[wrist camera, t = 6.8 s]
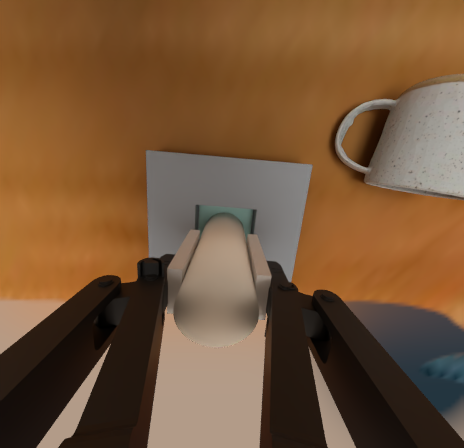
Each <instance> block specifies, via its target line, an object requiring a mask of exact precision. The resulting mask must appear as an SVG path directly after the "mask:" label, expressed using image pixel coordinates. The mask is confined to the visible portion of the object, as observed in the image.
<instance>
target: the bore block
mask: <svg viewBox="0 0 464 448" xmlns="http://www.w3.org/2000/svg"><path fill="white" fill-rule="evenodd" d="M146 170H147V205H148V241H149V258H152V257H154V258H160V257H161V256H163V255H165V254H176V253H177V251H178V249H179V248H180V246H181V244H182V243H183V241H184V239H185V238H186V236H187V234H188V233H189V231H190V229H191V230H200V237H201V235H202V232H203V230H204V227H205V225H206V223H207V221H208V220H209V219H210V218H211V217H212V216H213V215H215V214H218V213H230V214H233V215H235V216H236V217H237V218H239V220H240V221H241V222H242V224H243V227H244V232H245V237H246V243H247V236H248V234H255V235H257V236H258V239H259V242H260V245H261V247H262V250H263V253H264V256H265V259H266V261H276V262H277V263H279V264H280V265H281V267H282V269H283V271H284V273H285V275H286V277H287V279H288V281H289V282H291V279H292V274H293V269H294V263H295V258H296V252H297V247H298V241H299V236H300V231H301V225H302V220H303V214H304V209H305V203H306V198H307V193H308V187H309V182H310V176H311V171H312V165H310V164H298V163H287V162H276V161H264V160H253V159H242V158H230V157H219V156H208V155H196V154H185V153H174V152H162V151H151V150H146ZM199 240H200V239H199Z"/></svg>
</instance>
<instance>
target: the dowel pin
mask: <svg viewBox="0 0 464 448" xmlns="http://www.w3.org/2000/svg"><path fill="white" fill-rule="evenodd" d="M173 315H174V319H175V322H176V325H177V327H178V328H179V330H180V331H181V332H182V333H183V334H184V335H185V336H186V337H187V338H188V339H190V340H191V341H193V342H195V343H197V344H199V345H202V346H206V347H212V348H221V347H228V346H232V345H235V344H237V343H239V342H241V341H242V340H244V339H245V338H247V337H248V336H249V335H250V334H251V333H252V331H253V330H254V328H255V327H256V324H257V322H258V318H259V306H258V301H257V296H256V290H255V285H254V280H253V275H252V269H251V264H250V259H249V253H248V248H247V243H246V237H245V232H244V227H243V224H242V222H241V221H240V220H239V218H237V217H236V216H235V215H233V214H230V213H218V214H215V215H213V216H212V217H211V218H210V219H209V220H208V221H207V223H206V225H205V227H204V230H203V232H202V235H201V237H200V240H199V242H198V245H197V247H196V250H195V252H194V255H193V257H192V260H191V262H190V265H189V267H188V270H187V272H186V275H185V277H184V280H183V282H182V285H181V287H180V290H179V292H178V295H177V297H176V300H175V302H174V307H173Z"/></svg>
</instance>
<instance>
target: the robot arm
mask: <svg viewBox="0 0 464 448" xmlns="http://www.w3.org/2000/svg"><path fill="white" fill-rule="evenodd" d="M199 239H200V230H191V229H190V231H189V233H188V234H187V236H186V238H185V239H184V241H183V243H182V244H181V246H180V248H179V249H178V251H177V253H176V254H165V255H163V256H161V257H160V258H154V257H152V258H145V259H142V260H140V261H139V262H138V263H137V268H138V279H137V281H135V282H130V283H121V279H120V278H119V277H118V276H114V275H106V276H102V277H99V278H97V279H95V280H93V281H92V282H91V283H89V284H88V285H87V286H86V287H84V288H83V289H82V290H80V291H79V292H78V293H77V294H75V295H74V296H73V297H72V298H70V299H69V300H68V301H67V302H65V303H64V304H63V305H62V306H60V307H59V308H58V309H57V310H55V311H54V312H53V313H52V314H50V315H49V316H48V317H47V318H45V319H44V320H43V321H42V322H40V323H39V324H38V325H37V326H36V327H34V328H33V329H32V330H30V331H29V332H28V333H27V334H25V335H24V336H23V337H22V338H20V339H19V340H18V341H17V342H15V343H14V344H13V345H12V346H10V347H9V348H8V349H7V350H5V351H4V352H3V353H2V354H0V448H36V447H37V446H38V444H39V443H40V441H41V440H42V439H43V437H44V436H45V435H46V433H47V432H48V430H49V429H50V428H51V426H52V425H53V424H54V422H55V421H56V419H57V418H58V417H59V415H60V414H61V412H62V411H63V409H64V408H65V407H66V405H67V404H68V403H69V401H70V400H71V398H72V397H73V396H74V394H75V393H76V391H77V390H78V389H79V387H80V386H81V384H82V383H83V382H84V380H85V379H86V378H87V376H88V375H89V373H90V372H91V370H92V369H93V368H94V366H95V365H96V364H97V362H98V361H99V359H100V358H101V357H102V355H103V354H104V352H105V351H106V350H107V348H108V347H109V345H110V344H111V345H110V348H109V350H108V353H107V355H106V357H105V360H104V363H103V365H102V368H101V370H100V372H99V375H98V377H97V380H96V382H95V385H94V387H93V389H92V392H91V395H90V397H89V399H88V402H87V404H86V407H85V409H84V412H83V414H82V417H81V419H80V422H79V424H78V426H77V429H76V431H75V433H74V434H73V436H72V437H70V438H67V439H65V440H64V441H63V442H62V443H61V444H60V446H59V447H58V448H147V444H148V436H149V429H150V422H151V415H152V406H153V400H154V393H155V385H156V378H157V371H158V364H159V356H160V348H161V342H162V334H163V326H164V320H165V309H166V307H167V313H171V314H173V307H174V302H175V300H176V297H177V295H178V292H179V290H180V287H181V285H182V282H183V280H184V277H185V275H186V272H187V270H188V267H189V265H190V262H191V260H192V257H193V255H194V252H195V250H196V247H197V245H198V242H199ZM247 248H248V253H249V259H250V264H251V269H252V275H253V280H254V285H255V290H256V296H257V301H258V306H259V318H258V319H260V320H265V317H266V313H267V316H268V318H267V324H266V330H265V337H266V340H265V359H264V376H263V394H262V395H263V396H262V413H261V414H262V415H261V430H260V431H261V432H260V448H328V447H327V444H326V440H325V434H324V430H323V424H322V418H321V413H320V407H319V402H318V396H317V391H316V385H315V380H314V375H313V369H312V364H311V358H310V353H309V348H310V350H311V352H312V354H313V357H314V359H315V361H316V363H317V365H318V367H319V369H320V372H321V374H322V376H323V378H324V380H325V382H326V384H327V386H328V389H329V391H330V393H331V395H332V397H333V399H334V401H335V404H336V406H337V408H338V410H339V412H340V414H341V416H342V418H343V420H344V423H345V425H346V427H347V429H348V431H349V433H350V435H351V438H352V440H353V442H354V444H355V446H356V448H464V441H463V440H462V438H461V437H460V436H459V435H458V434H457V433H456V431H455V430H454V429H453V428H452V427H451V426H450V425H449V423H448V422H447V421H446V420H445V419H444V418H443V416H442V415H441V414H440V413H439V412H438V411H437V410H436V408H435V407H434V406H433V405H432V404H431V403H430V401H429V400H428V399H427V398H426V397H425V396H424V394H422V392H421V391H420V390H419V389H418V388H417V386H416V385H415V384H414V383H413V382H412V381H411V379H410V378H409V377H408V376H407V375H406V374H405V373H404V372H403V370H402V369H401V368H400V367H399V366H398V365H397V363H396V362H395V361H394V360H393V359H392V357H391V356H390V355H389V354H388V353H387V352H386V351H385V349H384V348H383V347H382V346H381V345H380V344H379V343H378V341H377V340H376V339H375V338H374V337H373V336H372V335H371V334H370V332H369V331H368V330H367V329H366V327H365V326H364V325H363V324H362V323H361V322H360V320H359V319H358V318H357V317H356V316H355V315H354V314H353V312H351V310H350V309H349V308H348V307H347V305H346V304H345V303H344V302H343V301H342V300H341V298H340V297H338V296H337V295H336V294H334V293H332V292H330V291H327V290H316V291H314V294H313V296H310V295H306V294H303V293H300V292H298V288H297V287H296V286H295V285H294V284H293V283H291V282H289V281H288V279H287V277H286V275H285V273H284V271H283V269H282V267H281V265H280V264H279V263H277V262H276V261H266V259H265V256H264V253H263V250H262V247H261V245H260V242H259V239H258V236H257V235H255V234H248V236H247ZM308 346H309V347H308Z"/></svg>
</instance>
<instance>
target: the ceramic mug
mask: <svg viewBox="0 0 464 448" xmlns="http://www.w3.org/2000/svg"><path fill="white" fill-rule="evenodd" d="M372 109H388V110H390V113H389V115H388V118H387V120H386V123H385V127H384V129H383V133H382V135H381V138H380V140H379V143H378V145H377V147H376V150H375V152H374V155H373V157H372V159H371V162H370V164H369V166H368V167H363V166H360V165H359V164H357V163H355V162H354V161H352V160H350V159H349V158H348V157H347V155H346V154H345V152H344V150H343V148H342V147H341V144H342V141H343V138H344V136H345V134H346V131H347V130H348V128H349V126H351V125H352V124H353V121H354V118H355V117H356V116H357V115H358V114H360V113H362V112H364V111H367V110H372ZM335 150H336V153H337V155H338V157H339V158H340V160H341V161H342V162H343V163H344V164H346V165H347V166H349V167H350V168H352V169H354V170H357V171H359V172H362V173H364V174H365V178H364V182H365V183H366V184H369V185H373V186H378V187H382V188H387V189H392V190H398V191H403V192H409V193H415V194H420V195H427V196H434V197H442V198H449V199H457V200H464V74H455V75H447V76H441V77H436V78H432V79H428V80H426V81H423V82H420V83H418V84H416V85H414V86H412V87H411V88H409V89H407V90H406V91H405V92H403V93H402V94H401V95H400V97H399V98H398V99H397V100H392V99H380V100H373V101H369V102H366V103H363V104H361V105H360V106H358V107H356V108H355V109H353V110H352V111H351V112H350V113H349V114H348V115H347V116H346V117H345V118H344V119H343V121H342V123H341V125H340V126H339V129H338V131H337V134H336V139H335Z"/></svg>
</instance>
